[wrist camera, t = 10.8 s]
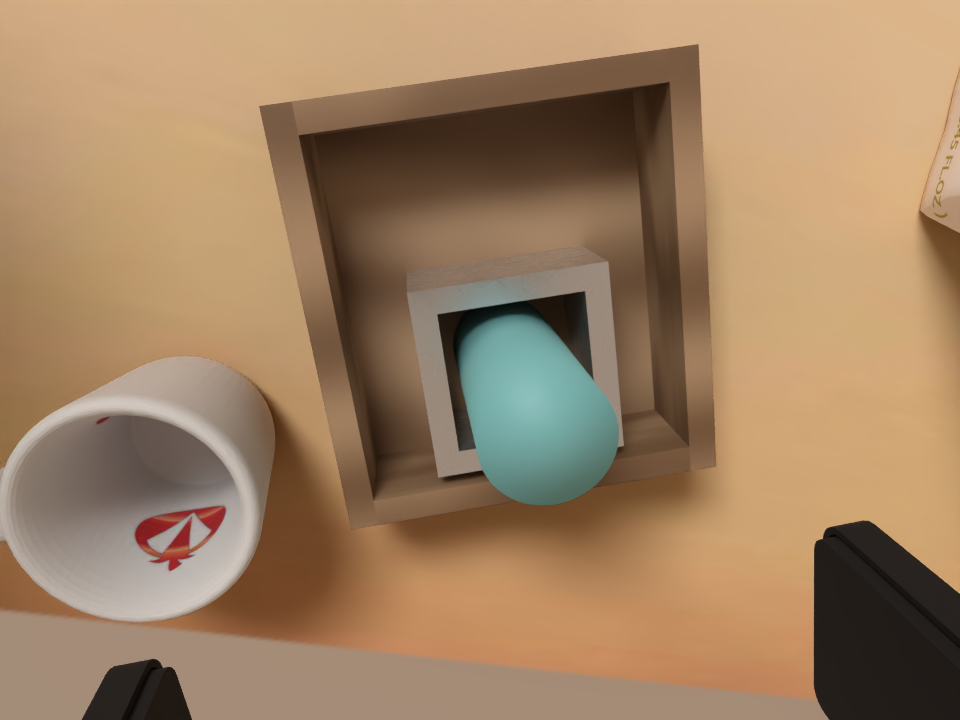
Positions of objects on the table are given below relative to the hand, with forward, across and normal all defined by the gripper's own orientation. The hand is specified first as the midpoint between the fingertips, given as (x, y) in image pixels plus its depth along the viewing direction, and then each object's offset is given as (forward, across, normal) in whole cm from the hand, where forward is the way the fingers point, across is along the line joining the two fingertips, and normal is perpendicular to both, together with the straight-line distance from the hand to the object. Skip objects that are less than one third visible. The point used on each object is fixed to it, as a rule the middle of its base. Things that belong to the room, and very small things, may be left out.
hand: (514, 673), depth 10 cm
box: (+21, -3, -1) cm, 21 cm away
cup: (+21, +12, +3) cm, 24 cm away
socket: (+21, -3, +1) cm, 21 cm away
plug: (+20, -2, +1) cm, 20 cm away
